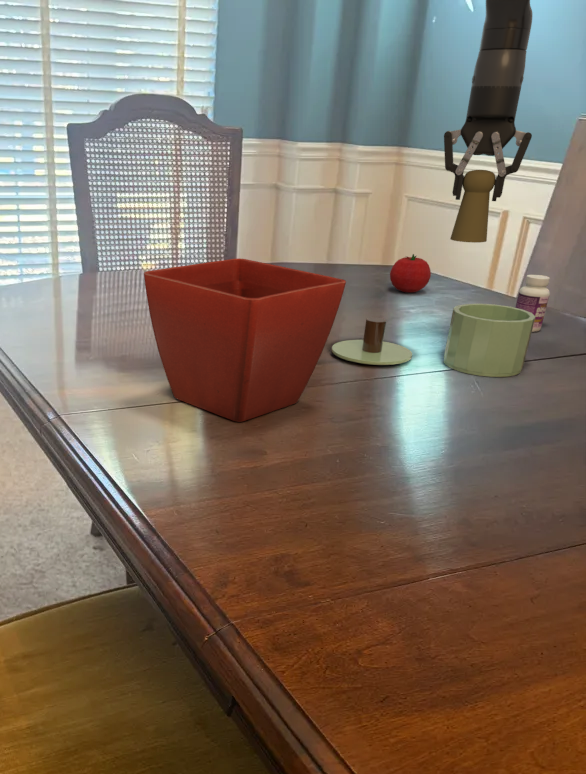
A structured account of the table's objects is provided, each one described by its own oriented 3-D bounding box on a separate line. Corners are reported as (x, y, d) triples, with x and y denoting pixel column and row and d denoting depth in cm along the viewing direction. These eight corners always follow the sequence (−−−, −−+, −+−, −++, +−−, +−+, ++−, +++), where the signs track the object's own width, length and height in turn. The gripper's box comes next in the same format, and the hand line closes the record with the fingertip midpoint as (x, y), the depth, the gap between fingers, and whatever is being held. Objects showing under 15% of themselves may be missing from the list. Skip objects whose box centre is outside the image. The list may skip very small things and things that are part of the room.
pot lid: (367, 342, 135) (372, 306, 132) (427, 360, 126) (434, 323, 123) (314, 353, 128) (319, 316, 125) (374, 373, 119) (380, 334, 116)
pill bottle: (537, 334, 143) (551, 280, 138) (507, 329, 145) (520, 276, 141) (542, 328, 147) (556, 275, 142) (513, 324, 149) (526, 272, 145)
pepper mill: (491, 242, 131) (505, 171, 126) (456, 242, 131) (469, 170, 126) (479, 237, 137) (492, 169, 131) (445, 237, 137) (457, 168, 131)
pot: (472, 351, 132) (483, 300, 128) (536, 369, 124) (550, 315, 119) (428, 361, 126) (438, 309, 121) (492, 381, 117) (505, 325, 113)
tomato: (384, 286, 177) (389, 250, 173) (422, 288, 177) (428, 251, 173) (391, 295, 170) (397, 257, 166) (431, 296, 169) (438, 258, 166)
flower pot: (334, 404, 107) (350, 278, 98) (242, 438, 95) (252, 298, 87) (232, 371, 118) (239, 256, 110) (139, 398, 107) (139, 272, 98)
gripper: (544, 85, 124) (520, 200, 132) (450, 85, 128) (433, 196, 136) (546, 83, 117) (521, 204, 126) (448, 83, 122) (430, 200, 130)
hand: (475, 199), depth 131 cm, fingers closed on pepper mill, 5 cm apart
